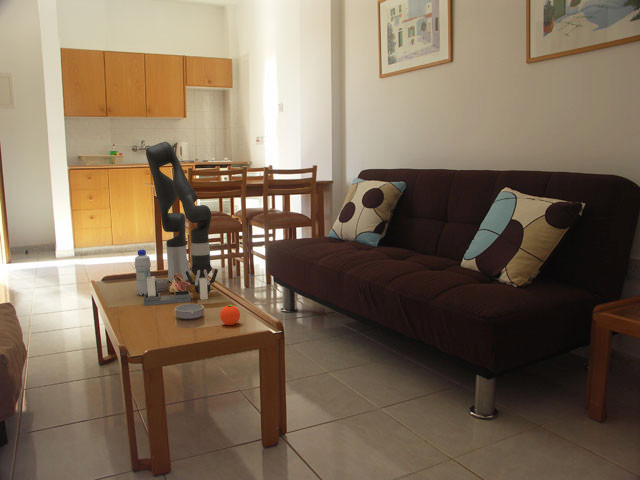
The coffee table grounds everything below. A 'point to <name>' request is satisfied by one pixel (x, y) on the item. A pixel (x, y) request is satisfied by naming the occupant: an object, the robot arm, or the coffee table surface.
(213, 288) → the coffee table surface
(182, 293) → the grey boxy piece
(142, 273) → the bottle
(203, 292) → the block
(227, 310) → the clementine
